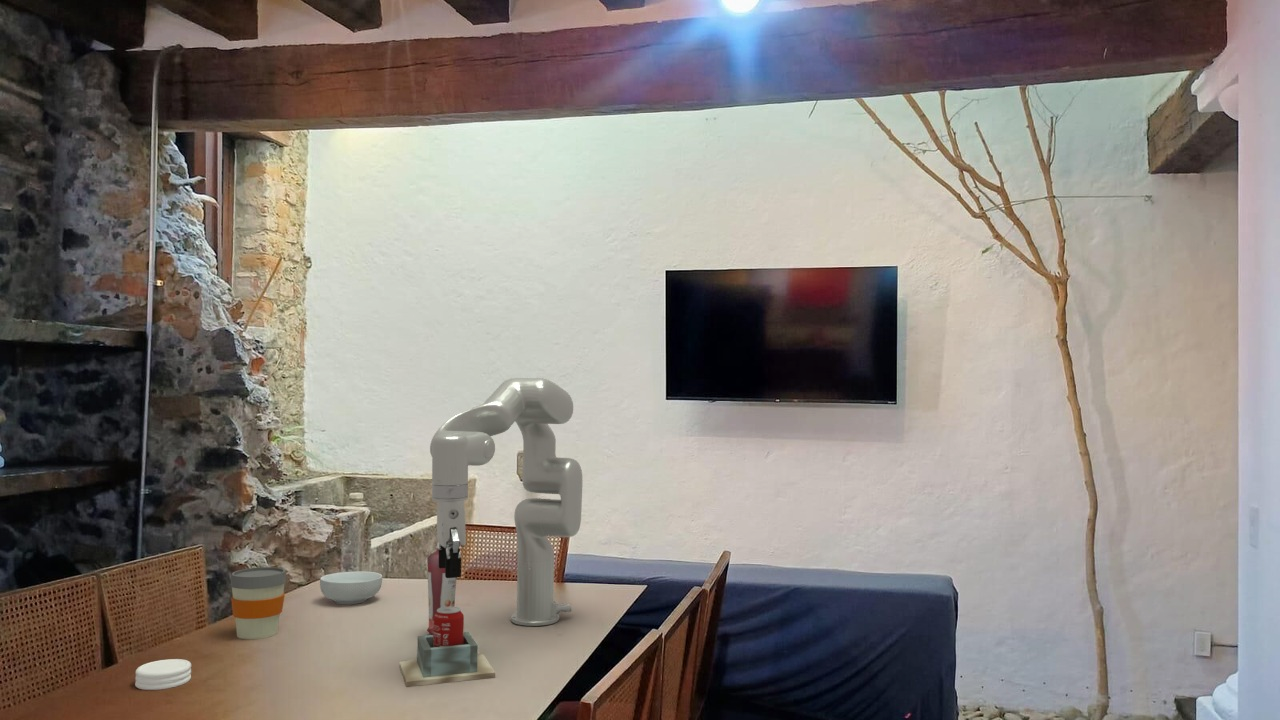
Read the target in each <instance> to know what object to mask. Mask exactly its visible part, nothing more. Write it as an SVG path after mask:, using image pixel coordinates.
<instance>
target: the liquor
mask: <svg viewBox="0 0 1280 720" xmlns="http://www.w3.org/2000/svg"><path fill="white" fill-rule="evenodd" d="M439 550H442V549H439V542H438V541H437V543H436V551H435V552H432V553H431V554H429V556H427V557H426V558H427V559H426V561H427V562H426V563H427V565H426V566H427V589H428V596H427V597H428V627H427V629H426V631H427V633H428V634H429V635H433V622H434V615H435V614H436V613H437V609H438V608H441V607H456V605H455V603H456V589H457V578H458V577H457V578H446V577H445V568H439Z"/></svg>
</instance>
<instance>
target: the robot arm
mask: <svg viewBox="0 0 1280 720" xmlns="http://www.w3.org/2000/svg"><path fill="white" fill-rule="evenodd" d="M573 413H574V402H573V399H572V397H571V394H570V393H569V392H567V391H566V390H565V389H564V388H562V387H561V386H559V385H558V384H556V383H554V382H552V381H551V380H549V379H547V378H540V377H539V378H538V377H529V378H528V377H514V378H512V377H511V378H509V379H506V380H504V381H503V382H502V383H501V384H500V385H499V386H498V387H497V388H496V389H495V390H494V392H493V393H492V394H491V395H490V396H489V397H488V398H487V399H486V400H485V401H484V402H483V403H481V404H479V405H476V406H475V407H472V408H470V409H467V410H465V411H462V412H461V413H458V414H456V415H454V416H452V417H450V418H449V419H447V420H446V421H445V422H444V423H443V424H442V425H441V426H440V427H439V428H438V429H437V431H436V432H435V433H434V434H433V436H432V438H431V441H430V445H429V453H430V456H431V458H432V459H431V461H432V463H431V465H432V466H431V471H432V473H431V500H432V501H435V502H437V503H436V532H437V533H436V536H437V542H439V549H442V550H439V568H445V577H446V578H461V576H462V556H461V555H462V554H461V547H462V548H464V547H466V545H467V537H466V536H467V531H466V512H465V511H466V509H465V501H466V500H468V498H469V466H471V467H472V466H475V467H479V466H483V465H486V464H487V463H489V462H490V461H491V460H492V459H493V457H494V455H495V453H496V443H495V440H494V438H493V437H494V436H496V435H497V436H498V435H500V434H503V433H505V432H507V431H508V430H509V429H511V427H512V425H514V423H516V425H517V427H518V429H519V431H520V433H521V436H522V439H523V440H522V441H523V442H522V443H523V444H522V445H523V446H522V447H523V448H522V450H523V451H522V452H523V453H522V469H521V470H522V472H521V474H522V476H521V481H522V482H521V483H522V486H523V488H524V490H526V491H527V492H530V493H533V494H534V493H535V494H548V495H549V494H551V495H559V496H560V499H552V498H540V497H539V498H538V497H535V498H534V497H532V498H526V499H523V500H521V501H520V502H519V503H518V504H517V505H516V506H515V508H514V509H515V510H514V516H513V517H514V526H515V530H516V538H517V539H516V540H517V570H516V571H517V572H516V573H517V574H516V575H517V576H516V582H517V583H516V612H514V613H513V614H511V615H510V622H512V623H513V624H515V625H519V626H525V627H538V626H539V627H542V626H548V625H552V624H555V623H558V621H559V620H560V613H561V612H564V613H567V612H569V613H570V612H572V604H571V603H563V602H561V603H557V602H555V600H554V597H555V596H554V594H555V593H554V591H555V589H554V588H555V583H554V581H555V552H554V550H555V549H554V548H553V547H554V546H553V545H552V543H551V542H550V539H549V538H548V537H558V538H571V537H574V536H576V535H577V534H578V532H579V530H580V527H581V522H582V510H583V509H582V506H583V505H582V504H583V503H582V502H583V500H582V499H583V472H582V467H581V465H580V463H579V462H578V461H577V460H576V459H574V458H570V457H557V455H556V447H557V446H556V441H557V440H556V435H555V433H554V431H553V430H552V428H551V427H550V425H562V424H566V423H568V422H569V421H570V419H571V418H572V416H573Z"/></svg>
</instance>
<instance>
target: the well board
mask: <svg viewBox="0 0 1280 720" xmlns="http://www.w3.org/2000/svg"><path fill="white" fill-rule="evenodd" d="M416 643H417V644H416V645H417V647H416V648H417V650H416V659H412V660H404V661H399V669H400V671H401V674H402V678H403V680H404V684H405V687H407V688H409V687H416V686H427V685H428V686H429V685H437V684H446V683H447V684H448V683H455V682H463V681H472V680H473V681H474V680H482V679H483V680H485V679H491V678H496V671H495V670H494V669H493V667H492V665H491V664H490V662H489V661H488V659H487V658H486V656H485V655H484V653H478V651H479V650H478V649H479V648H478V644H477V642H476V640H475V639H474V638H473V637H472V635H471V633H470V632H469V631H465V632H464V633H463V645H455V646H444V647H433V635H431V634H429V635H428V634H427V635H420V636H417V642H416Z"/></svg>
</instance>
